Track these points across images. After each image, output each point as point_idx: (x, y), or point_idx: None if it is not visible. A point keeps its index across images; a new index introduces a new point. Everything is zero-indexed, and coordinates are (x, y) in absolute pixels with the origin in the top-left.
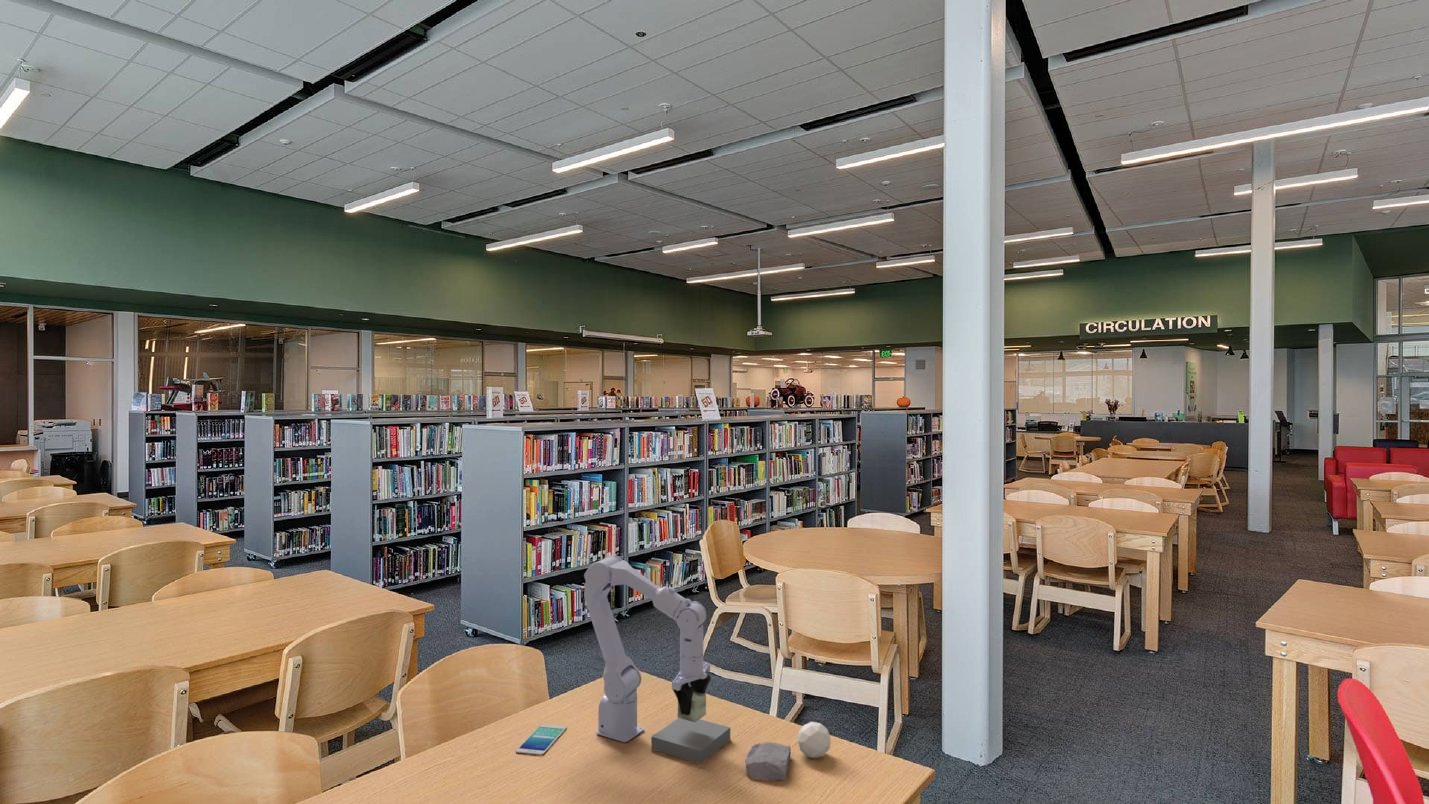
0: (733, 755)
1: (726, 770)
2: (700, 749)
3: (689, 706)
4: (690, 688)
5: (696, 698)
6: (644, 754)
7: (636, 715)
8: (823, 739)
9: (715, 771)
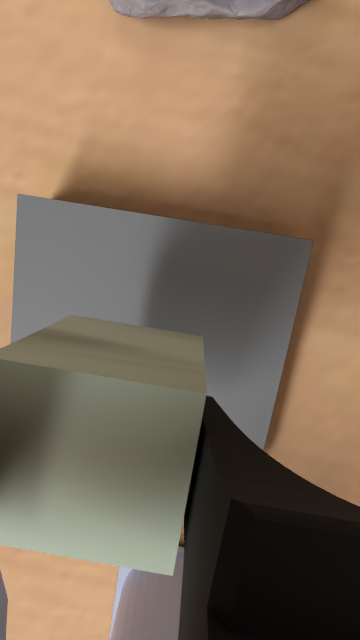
0: (173, 135)
1: (311, 113)
2: (298, 249)
3: (228, 419)
4: (301, 582)
5: (129, 409)
6: (289, 469)
7: (153, 626)
8: None
9: (333, 158)
